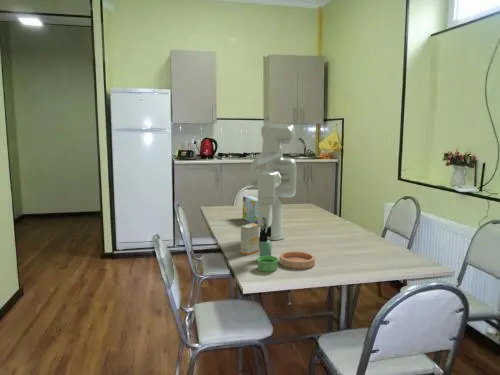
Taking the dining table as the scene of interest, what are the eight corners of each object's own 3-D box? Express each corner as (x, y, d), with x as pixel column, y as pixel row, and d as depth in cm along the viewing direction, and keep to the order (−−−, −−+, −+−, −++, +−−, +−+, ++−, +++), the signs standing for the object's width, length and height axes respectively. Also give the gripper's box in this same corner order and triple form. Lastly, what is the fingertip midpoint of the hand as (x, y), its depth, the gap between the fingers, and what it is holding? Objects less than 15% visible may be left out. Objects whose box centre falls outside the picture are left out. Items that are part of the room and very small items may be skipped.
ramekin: (265, 274, 162) (265, 263, 161) (252, 268, 169) (252, 257, 168) (282, 270, 167) (283, 259, 166) (269, 264, 174) (269, 254, 174)
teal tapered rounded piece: (260, 256, 184) (261, 239, 183) (271, 257, 183) (272, 240, 182) (258, 260, 179) (258, 242, 178) (269, 260, 178) (270, 243, 177)
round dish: (282, 256, 185) (282, 250, 184) (315, 259, 181) (316, 252, 181) (277, 267, 170) (277, 260, 170) (313, 270, 167) (313, 263, 166)
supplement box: (251, 249, 196) (251, 222, 194) (259, 251, 193) (259, 224, 191) (240, 253, 189) (240, 225, 187) (247, 255, 186) (248, 227, 184)
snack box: (262, 224, 247) (263, 200, 245) (254, 225, 245) (254, 200, 243) (249, 217, 266) (250, 195, 264) (241, 218, 264) (242, 195, 262)
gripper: (261, 197, 187) (260, 234, 189) (253, 203, 170) (253, 243, 172) (277, 198, 185) (276, 235, 187) (271, 204, 168) (270, 244, 170)
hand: (265, 238), depth 179 cm, fingers open, 9 cm apart
